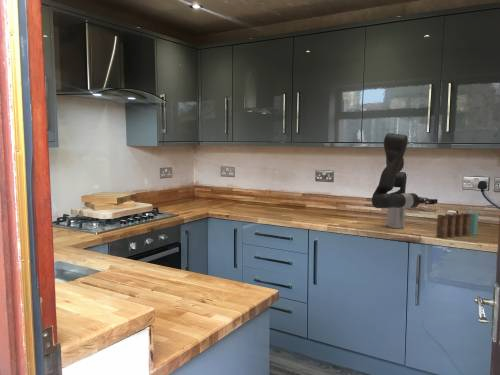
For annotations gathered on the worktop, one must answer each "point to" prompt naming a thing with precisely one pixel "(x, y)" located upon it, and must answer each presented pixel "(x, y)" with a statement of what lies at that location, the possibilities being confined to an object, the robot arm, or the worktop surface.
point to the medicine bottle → (452, 211)
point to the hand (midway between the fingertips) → (430, 200)
